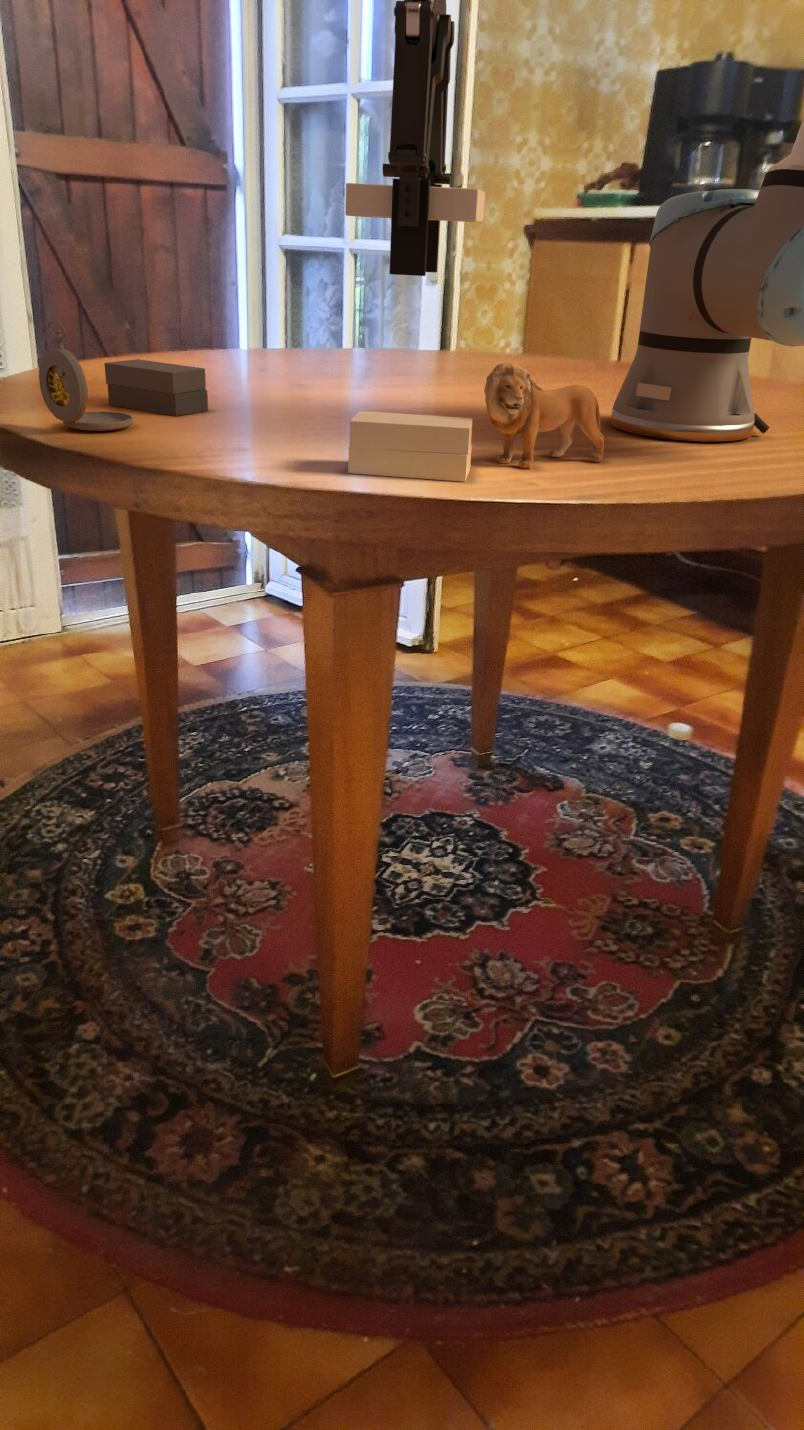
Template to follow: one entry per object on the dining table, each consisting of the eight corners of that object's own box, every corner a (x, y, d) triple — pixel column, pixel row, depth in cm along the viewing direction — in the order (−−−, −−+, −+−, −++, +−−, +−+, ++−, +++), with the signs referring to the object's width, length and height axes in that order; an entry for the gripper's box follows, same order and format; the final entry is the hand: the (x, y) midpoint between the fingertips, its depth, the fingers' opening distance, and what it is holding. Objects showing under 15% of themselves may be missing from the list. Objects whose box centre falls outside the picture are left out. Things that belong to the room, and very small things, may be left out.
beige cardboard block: (471, 469, 90) (474, 418, 88) (466, 482, 85) (469, 428, 83) (358, 460, 91) (359, 410, 89) (346, 473, 86) (347, 420, 84)
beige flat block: (483, 222, 82) (485, 192, 81) (476, 221, 76) (478, 188, 75) (361, 217, 84) (362, 186, 83) (345, 215, 77) (345, 183, 76)
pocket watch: (142, 423, 103) (135, 317, 99) (113, 439, 95) (104, 325, 91) (63, 419, 103) (53, 313, 99) (28, 434, 96) (15, 320, 92)
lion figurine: (504, 476, 88) (513, 367, 84) (464, 464, 92) (471, 359, 88) (619, 460, 96) (632, 360, 92) (578, 450, 100) (589, 353, 96)
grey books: (208, 410, 111) (206, 368, 109) (176, 416, 107) (173, 372, 106) (140, 399, 116) (137, 359, 114) (107, 404, 112) (104, 362, 110)
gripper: (398, -48, 81) (387, 267, 91) (350, -127, 63) (343, 275, 73) (492, -46, 80) (471, 271, 90) (471, -126, 62) (447, 281, 72)
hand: (414, 272), depth 82 cm, fingers closed on beige flat block, 7 cm apart
